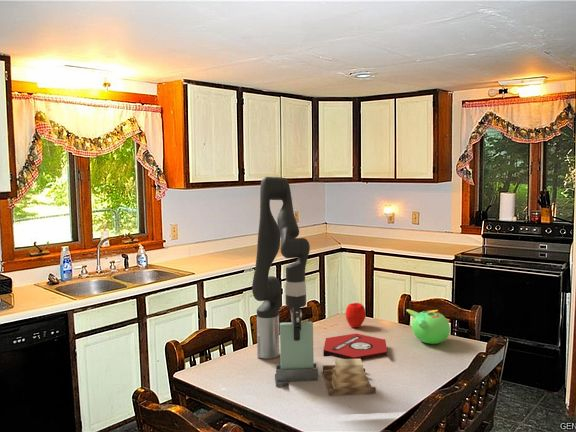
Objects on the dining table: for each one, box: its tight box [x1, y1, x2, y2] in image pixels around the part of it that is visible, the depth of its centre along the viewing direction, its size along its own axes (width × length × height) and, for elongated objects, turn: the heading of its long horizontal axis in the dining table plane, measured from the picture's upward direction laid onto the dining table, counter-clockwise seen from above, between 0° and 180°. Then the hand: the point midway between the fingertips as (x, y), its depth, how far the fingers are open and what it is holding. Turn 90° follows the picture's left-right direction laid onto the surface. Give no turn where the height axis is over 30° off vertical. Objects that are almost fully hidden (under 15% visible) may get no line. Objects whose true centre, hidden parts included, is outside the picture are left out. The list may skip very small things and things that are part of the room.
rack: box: [320, 364, 377, 397], centre depth 191 cm, size 16×21×4 cm
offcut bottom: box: [332, 375, 367, 389], centre depth 186 cm, size 11×8×3 cm
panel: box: [279, 321, 315, 369], centre depth 195 cm, size 12×2×18 cm, turn 94°
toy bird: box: [405, 308, 451, 345], centre depth 235 cm, size 18×17×15 cm
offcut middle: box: [333, 368, 367, 384], centre depth 186 cm, size 10×7×3 cm
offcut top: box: [334, 358, 364, 374], centre depth 186 cm, size 9×6×3 cm, turn 90°
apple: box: [345, 302, 366, 328], centre depth 259 cm, size 10×10×12 cm
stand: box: [274, 362, 321, 387], centre depth 196 cm, size 16×8×6 cm, turn 94°
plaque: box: [322, 333, 388, 361], centre depth 226 cm, size 27×4×30 cm
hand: (296, 338), depth 194 cm, fingers closed on panel, 2 cm apart
